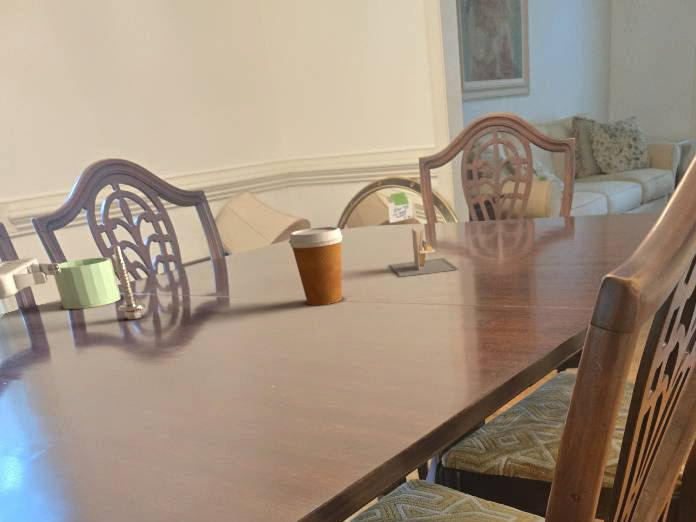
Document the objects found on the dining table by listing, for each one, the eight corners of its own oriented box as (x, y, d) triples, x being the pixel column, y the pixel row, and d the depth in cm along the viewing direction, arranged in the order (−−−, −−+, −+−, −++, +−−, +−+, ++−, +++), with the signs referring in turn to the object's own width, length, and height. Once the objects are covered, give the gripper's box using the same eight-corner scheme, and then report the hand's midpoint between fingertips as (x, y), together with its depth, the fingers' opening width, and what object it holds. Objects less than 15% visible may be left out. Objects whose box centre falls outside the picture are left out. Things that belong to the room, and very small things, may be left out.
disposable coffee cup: (287, 306, 138) (276, 235, 133) (319, 294, 145) (310, 226, 140) (329, 308, 134) (319, 234, 128) (360, 295, 141) (352, 225, 135)
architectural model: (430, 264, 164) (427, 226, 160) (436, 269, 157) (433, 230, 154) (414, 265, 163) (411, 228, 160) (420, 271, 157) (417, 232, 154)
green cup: (57, 311, 155) (45, 270, 152) (70, 300, 166) (58, 262, 162) (115, 304, 157) (104, 263, 153) (124, 294, 167) (114, 255, 163)
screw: (142, 320, 140) (116, 322, 140) (151, 314, 144) (126, 316, 145) (123, 244, 134) (96, 247, 134) (133, 240, 138) (107, 243, 138)
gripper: (-3, 289, 146) (71, 280, 148) (-42, 312, 129) (43, 301, 130) (-15, 254, 143) (61, 246, 144) (-56, 273, 125) (31, 262, 127)
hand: (52, 272), depth 137 cm, fingers open, 8 cm apart
